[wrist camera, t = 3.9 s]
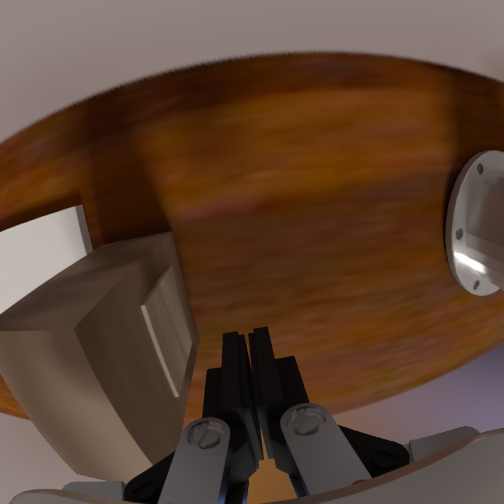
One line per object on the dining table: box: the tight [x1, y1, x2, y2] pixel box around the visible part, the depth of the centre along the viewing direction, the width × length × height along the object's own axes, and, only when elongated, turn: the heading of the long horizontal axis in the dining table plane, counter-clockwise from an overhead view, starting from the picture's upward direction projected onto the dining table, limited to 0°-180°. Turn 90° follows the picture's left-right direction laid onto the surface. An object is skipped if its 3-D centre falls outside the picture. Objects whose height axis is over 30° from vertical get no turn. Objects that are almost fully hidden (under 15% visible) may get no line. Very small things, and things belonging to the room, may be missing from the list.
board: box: [0, 205, 93, 314], centre depth 18 cm, size 16×14×1 cm
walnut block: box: [0, 231, 200, 483], centre depth 13 cm, size 5×8×12 cm, turn 9°
